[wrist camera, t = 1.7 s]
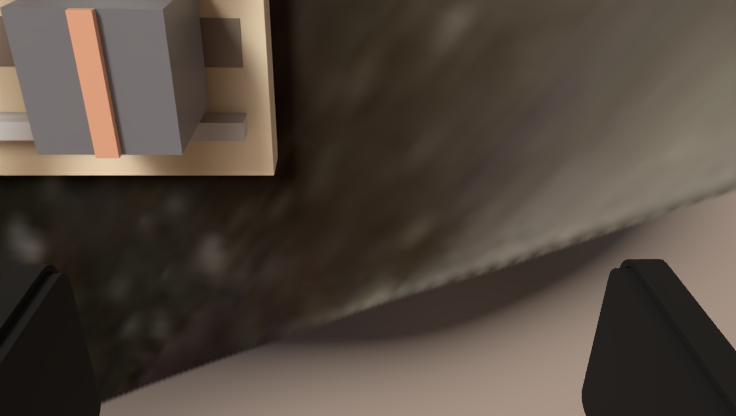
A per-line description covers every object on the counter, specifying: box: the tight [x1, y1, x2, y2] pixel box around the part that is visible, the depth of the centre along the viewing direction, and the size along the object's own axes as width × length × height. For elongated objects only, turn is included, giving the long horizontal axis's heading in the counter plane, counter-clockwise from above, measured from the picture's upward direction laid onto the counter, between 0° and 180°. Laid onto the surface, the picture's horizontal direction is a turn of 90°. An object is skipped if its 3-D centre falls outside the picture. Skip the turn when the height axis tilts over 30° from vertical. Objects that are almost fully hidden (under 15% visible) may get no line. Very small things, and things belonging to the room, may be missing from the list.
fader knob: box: [0, 0, 209, 158], centre depth 23 cm, size 5×5×5 cm
